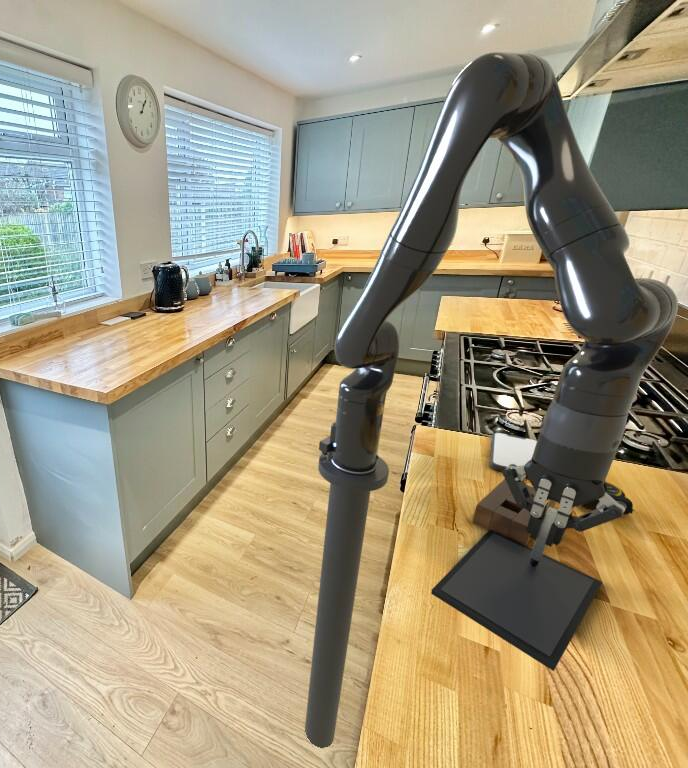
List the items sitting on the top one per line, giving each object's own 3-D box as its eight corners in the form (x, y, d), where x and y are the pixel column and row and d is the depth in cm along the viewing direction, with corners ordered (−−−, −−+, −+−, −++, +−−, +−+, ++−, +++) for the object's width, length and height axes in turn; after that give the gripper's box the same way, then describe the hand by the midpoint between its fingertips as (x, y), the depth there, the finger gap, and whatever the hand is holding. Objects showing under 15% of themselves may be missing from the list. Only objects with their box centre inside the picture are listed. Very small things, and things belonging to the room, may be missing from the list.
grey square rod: (526, 564, 63) (546, 509, 60) (529, 561, 63) (549, 506, 60) (536, 569, 62) (557, 513, 59) (539, 566, 63) (560, 510, 59)
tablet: (430, 593, 60) (431, 588, 60) (488, 533, 71) (490, 528, 70) (553, 671, 49) (556, 666, 49) (600, 586, 60) (603, 581, 60)
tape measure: (577, 512, 74) (584, 495, 73) (563, 490, 80) (569, 473, 79) (629, 521, 72) (637, 503, 70) (610, 497, 77) (617, 481, 76)
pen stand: (472, 522, 73) (476, 504, 72) (501, 494, 80) (506, 476, 78) (524, 547, 67) (531, 528, 66) (551, 514, 74) (558, 496, 72)
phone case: (543, 483, 83) (539, 446, 94) (545, 476, 82) (541, 440, 94) (488, 470, 88) (491, 436, 99) (490, 463, 87) (492, 430, 99)
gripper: (660, 446, 51) (612, 554, 58) (525, 410, 62) (497, 506, 68) (647, 468, 47) (597, 582, 54) (505, 426, 58) (478, 526, 64)
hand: (541, 539), depth 61 cm, fingers closed on grey square rod, 1 cm apart
